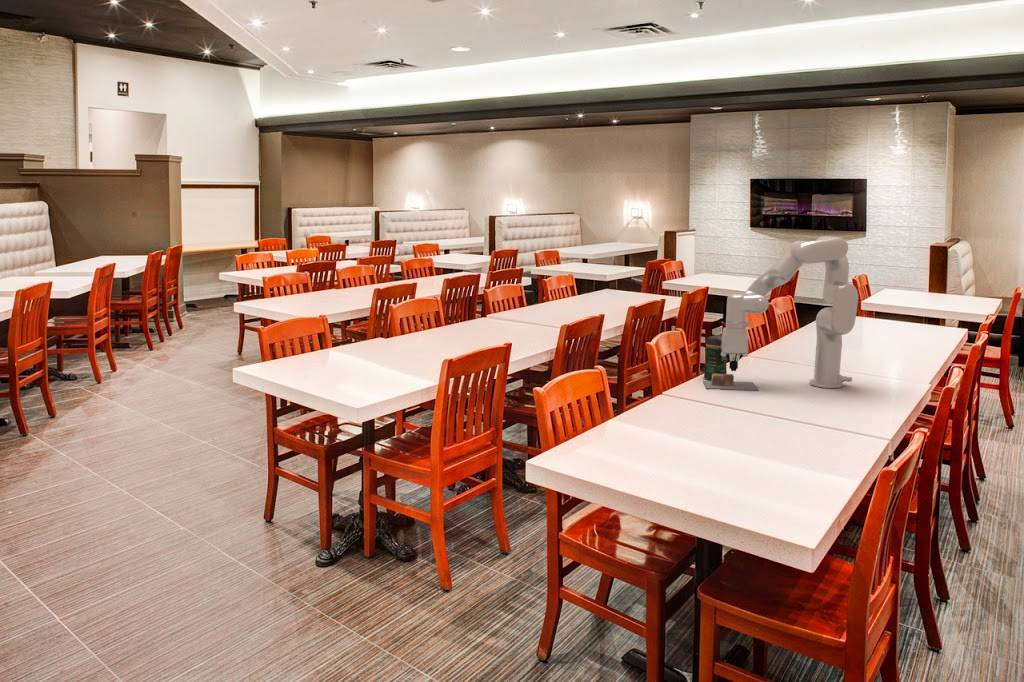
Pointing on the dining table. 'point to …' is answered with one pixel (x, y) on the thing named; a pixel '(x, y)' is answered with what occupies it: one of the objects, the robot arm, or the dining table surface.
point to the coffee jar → (714, 357)
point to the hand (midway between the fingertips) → (733, 370)
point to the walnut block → (722, 379)
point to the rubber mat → (736, 386)
